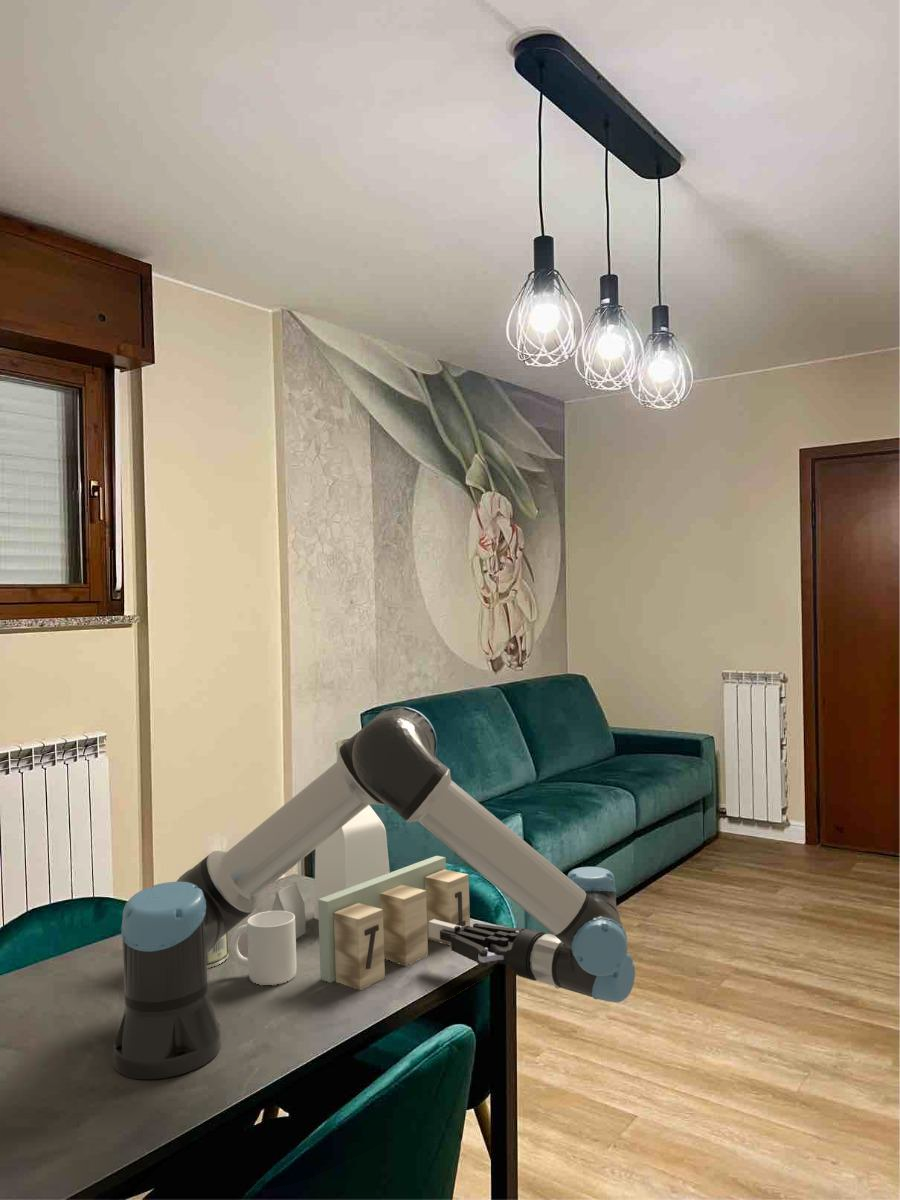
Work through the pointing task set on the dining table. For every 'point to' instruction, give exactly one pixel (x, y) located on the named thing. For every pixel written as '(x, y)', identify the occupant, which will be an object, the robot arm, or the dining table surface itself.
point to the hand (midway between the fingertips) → (431, 927)
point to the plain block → (404, 924)
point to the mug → (268, 947)
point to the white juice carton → (291, 906)
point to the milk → (351, 856)
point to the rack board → (366, 903)
